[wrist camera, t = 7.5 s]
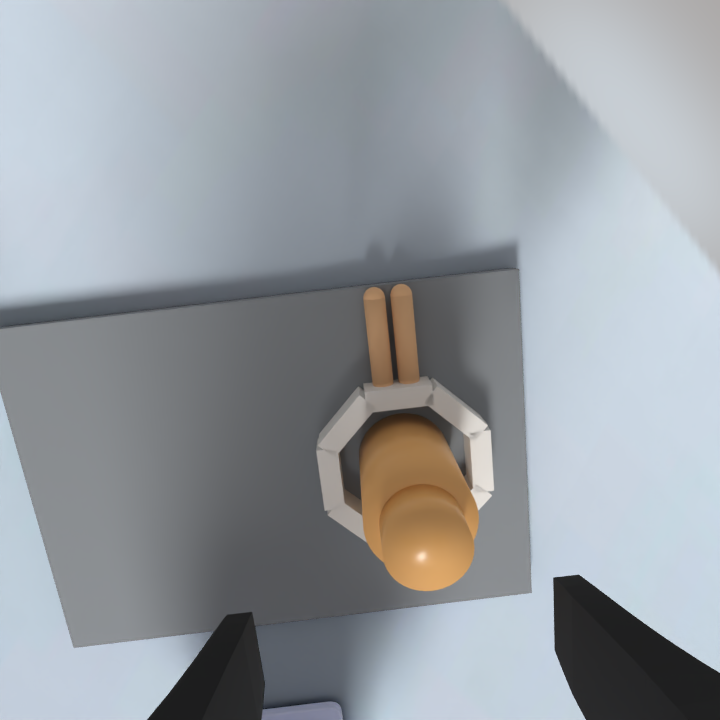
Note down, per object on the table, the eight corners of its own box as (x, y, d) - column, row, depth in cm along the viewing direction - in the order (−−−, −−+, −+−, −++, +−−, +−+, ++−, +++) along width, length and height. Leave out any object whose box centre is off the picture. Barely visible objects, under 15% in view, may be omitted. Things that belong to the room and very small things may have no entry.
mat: (525, 580, 24) (542, 612, 22) (82, 633, 23) (59, 670, 21) (512, 267, 20) (530, 271, 18) (-3, 327, 20) (-40, 337, 18)
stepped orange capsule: (450, 490, 21) (495, 598, 15) (363, 500, 21) (371, 612, 15) (444, 408, 21) (488, 486, 14) (354, 418, 21) (358, 501, 14)
